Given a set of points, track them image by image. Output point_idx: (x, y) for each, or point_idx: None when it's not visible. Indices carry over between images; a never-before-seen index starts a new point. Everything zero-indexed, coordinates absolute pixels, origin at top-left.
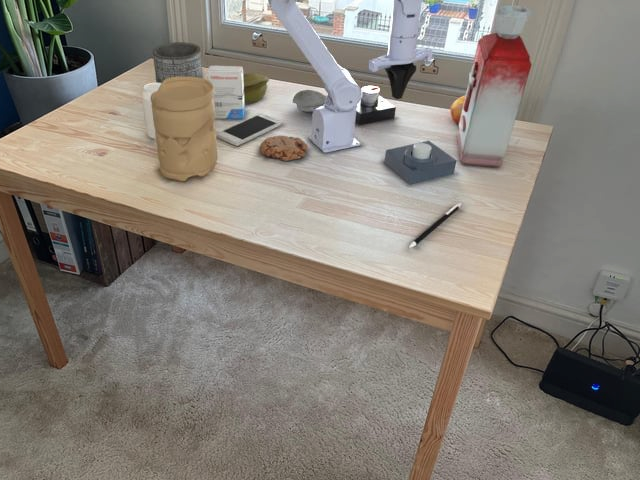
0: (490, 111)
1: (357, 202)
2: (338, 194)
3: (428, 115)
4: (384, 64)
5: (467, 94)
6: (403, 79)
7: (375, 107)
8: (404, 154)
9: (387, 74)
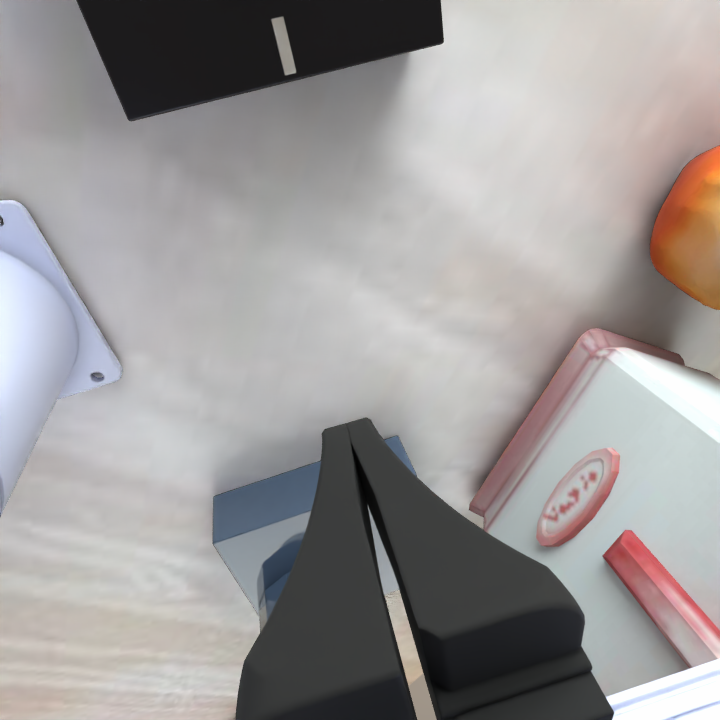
0: None
1: (83, 670)
2: (15, 653)
3: (620, 49)
4: None
5: (665, 632)
6: (410, 624)
7: (278, 23)
8: (265, 610)
9: (284, 587)
